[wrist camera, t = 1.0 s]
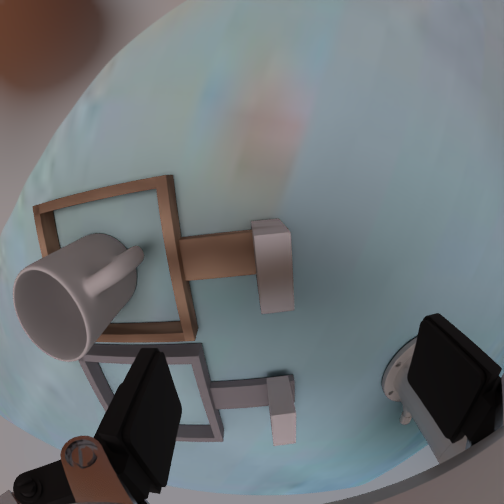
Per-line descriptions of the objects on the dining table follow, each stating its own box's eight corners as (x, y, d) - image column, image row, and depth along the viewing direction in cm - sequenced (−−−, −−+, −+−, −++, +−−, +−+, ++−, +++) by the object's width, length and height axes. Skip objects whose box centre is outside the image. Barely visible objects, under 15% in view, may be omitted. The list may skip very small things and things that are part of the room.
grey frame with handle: (293, 422, 34) (301, 461, 27) (124, 424, 34) (112, 457, 27) (291, 334, 29) (304, 376, 22) (84, 343, 29) (58, 376, 22)
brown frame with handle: (291, 319, 29) (304, 359, 22) (78, 330, 29) (51, 362, 22) (280, 162, 24) (295, 157, 18) (45, 203, 24) (4, 213, 17)
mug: (99, 316, 28) (52, 372, 18) (61, 254, 26) (-1, 290, 15) (179, 274, 27) (146, 332, 17) (137, 200, 25) (77, 218, 14)
